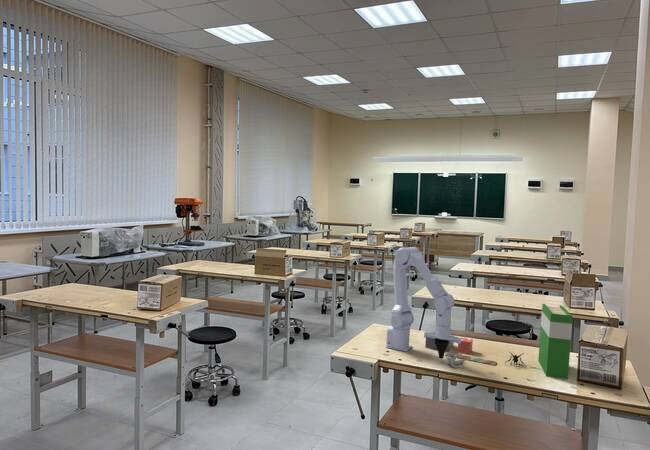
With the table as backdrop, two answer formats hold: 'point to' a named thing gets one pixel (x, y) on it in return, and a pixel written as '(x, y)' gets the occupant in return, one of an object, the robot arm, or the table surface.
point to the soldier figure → (453, 360)
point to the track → (473, 359)
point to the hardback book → (555, 341)
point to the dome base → (431, 344)
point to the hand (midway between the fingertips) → (441, 357)
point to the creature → (515, 360)
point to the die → (465, 345)
